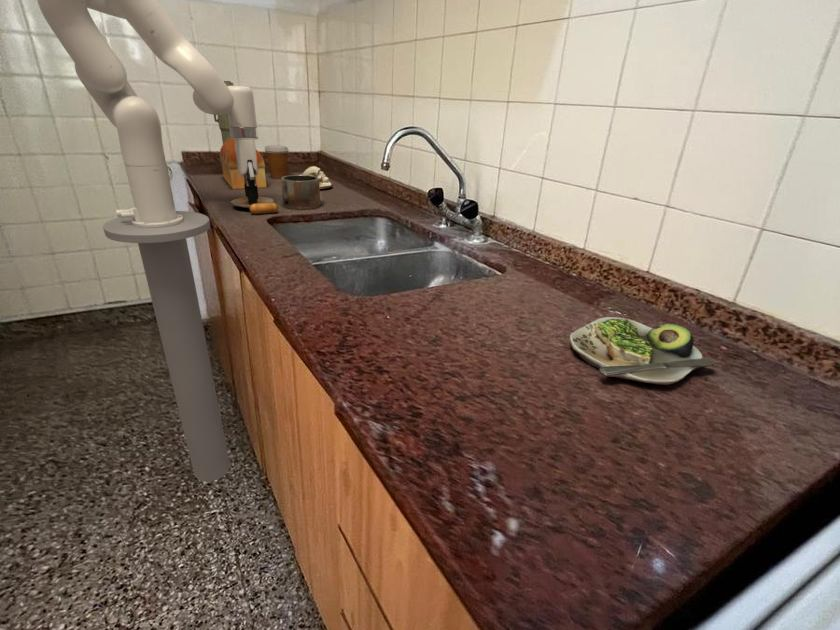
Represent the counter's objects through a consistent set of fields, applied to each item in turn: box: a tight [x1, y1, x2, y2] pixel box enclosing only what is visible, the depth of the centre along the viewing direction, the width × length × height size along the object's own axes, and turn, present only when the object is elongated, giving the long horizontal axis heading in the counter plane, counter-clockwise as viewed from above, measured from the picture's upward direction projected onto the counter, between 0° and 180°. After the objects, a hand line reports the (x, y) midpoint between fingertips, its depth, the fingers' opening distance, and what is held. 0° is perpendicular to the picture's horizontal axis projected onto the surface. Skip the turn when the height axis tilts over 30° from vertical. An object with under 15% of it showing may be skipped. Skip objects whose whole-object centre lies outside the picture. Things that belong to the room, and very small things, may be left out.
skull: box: [302, 165, 333, 190], centre depth 171 cm, size 12×10×10 cm
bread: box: [219, 139, 267, 190], centre depth 172 cm, size 25×12×15 cm, turn 29°
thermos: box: [213, 80, 235, 145], centre depth 185 cm, size 9×12×35 cm
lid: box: [230, 181, 275, 209], centre depth 138 cm, size 12×12×7 cm
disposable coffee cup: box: [264, 144, 290, 179], centre depth 186 cm, size 10×10×12 cm
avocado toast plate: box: [569, 316, 717, 386], centre depth 66 cm, size 19×18×5 cm
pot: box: [280, 174, 321, 210], centre depth 143 cm, size 11×11×8 cm
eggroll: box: [249, 202, 279, 215], centre depth 133 cm, size 8×3×3 cm, turn 117°
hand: (252, 197), depth 138 cm, fingers closed on lid, 2 cm apart
